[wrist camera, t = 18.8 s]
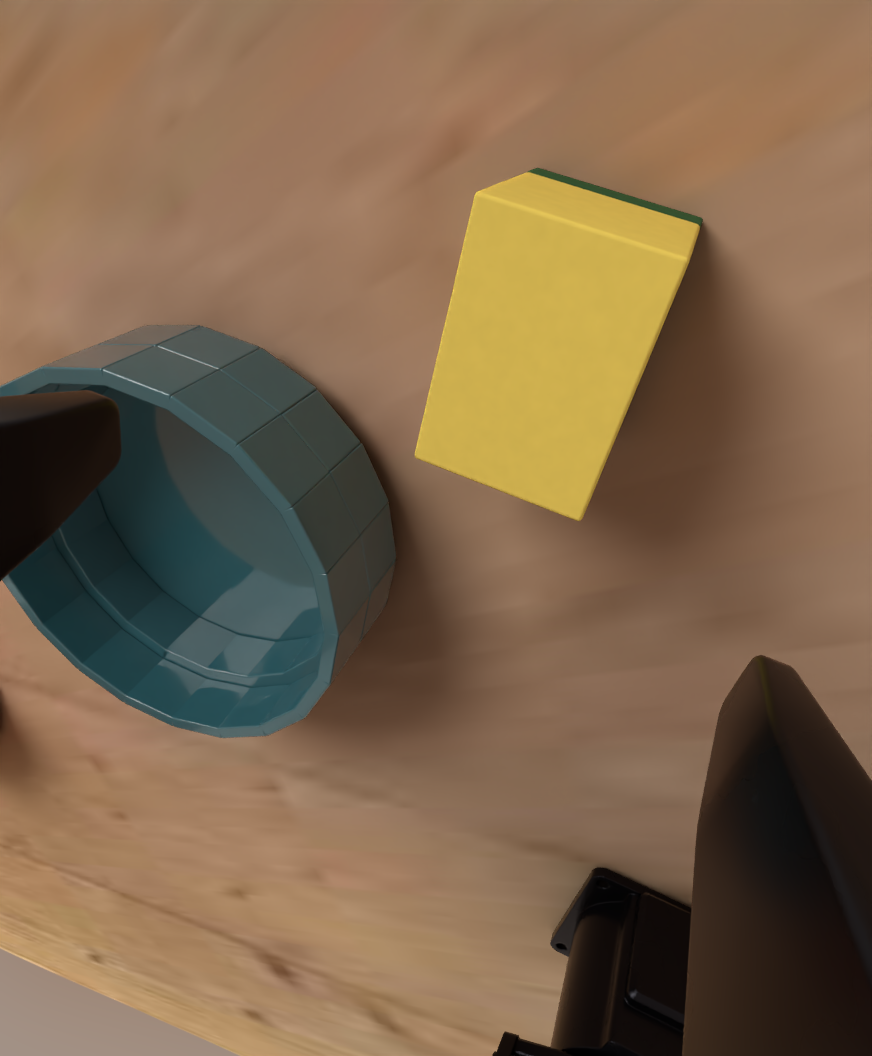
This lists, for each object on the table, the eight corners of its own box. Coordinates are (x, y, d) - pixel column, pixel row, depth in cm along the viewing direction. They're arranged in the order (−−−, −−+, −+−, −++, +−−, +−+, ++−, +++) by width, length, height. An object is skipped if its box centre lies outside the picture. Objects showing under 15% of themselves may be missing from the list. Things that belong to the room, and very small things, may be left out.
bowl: (370, 697, 29) (310, 793, 25) (94, 574, 32) (-1, 644, 28) (437, 400, 22) (368, 471, 18) (65, 266, 24) (-70, 302, 20)
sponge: (612, 437, 20) (580, 524, 16) (475, 387, 21) (412, 458, 17) (703, 218, 17) (690, 258, 13) (536, 167, 18) (474, 190, 14)
